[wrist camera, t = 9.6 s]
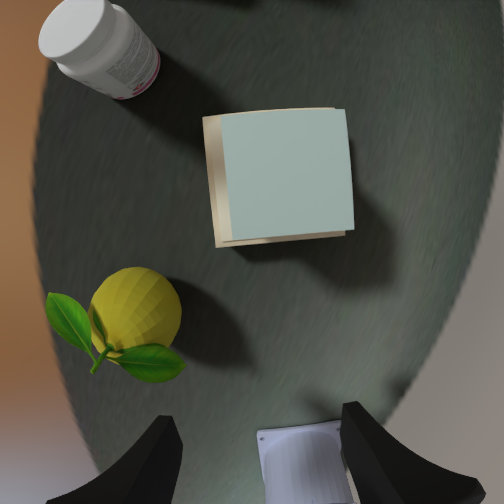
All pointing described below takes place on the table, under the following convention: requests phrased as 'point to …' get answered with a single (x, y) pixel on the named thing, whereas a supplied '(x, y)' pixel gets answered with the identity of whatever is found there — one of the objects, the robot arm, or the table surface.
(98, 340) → the lemon
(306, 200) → the teal block
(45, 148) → the table surface
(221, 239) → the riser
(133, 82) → the pill bottle
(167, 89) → the table surface
